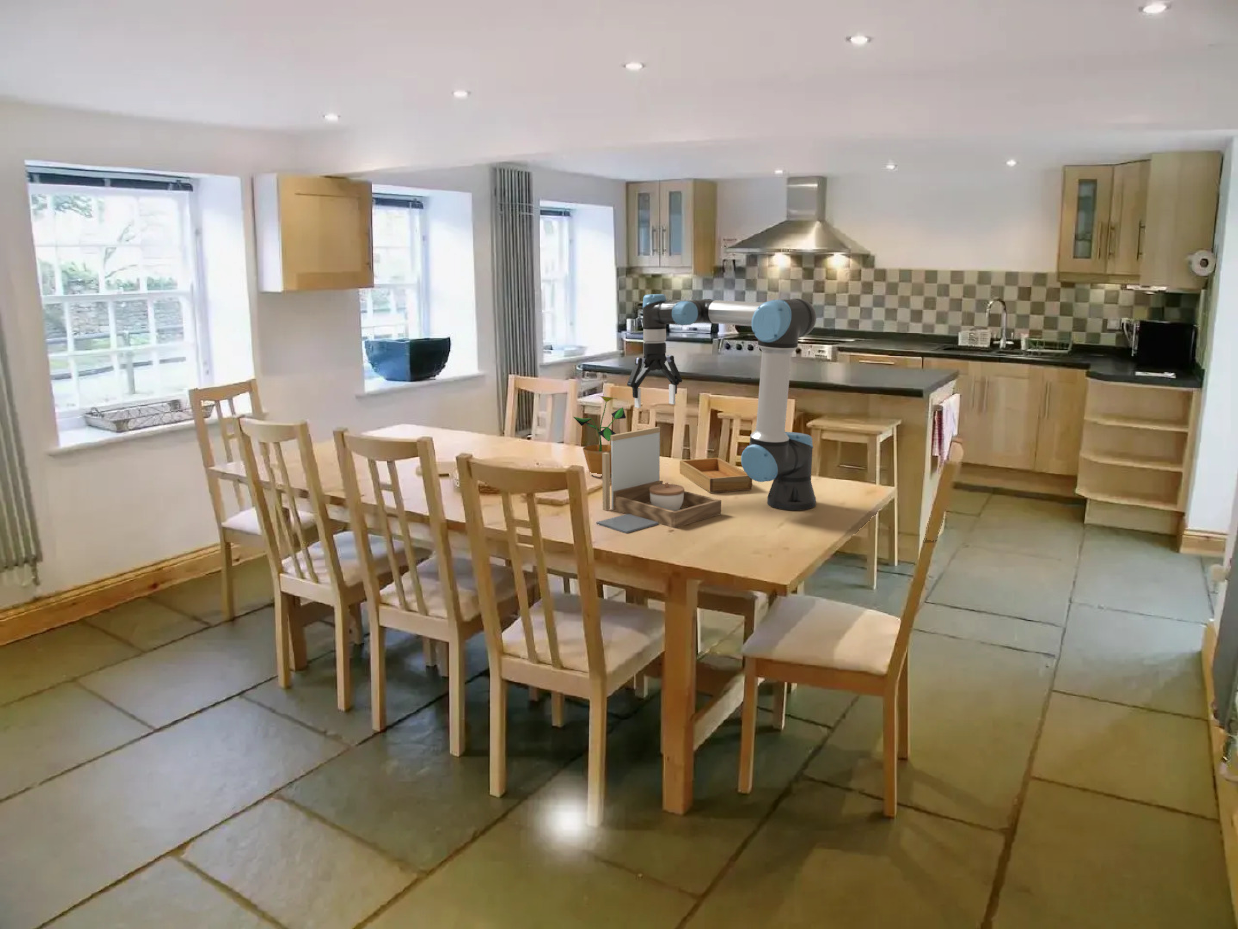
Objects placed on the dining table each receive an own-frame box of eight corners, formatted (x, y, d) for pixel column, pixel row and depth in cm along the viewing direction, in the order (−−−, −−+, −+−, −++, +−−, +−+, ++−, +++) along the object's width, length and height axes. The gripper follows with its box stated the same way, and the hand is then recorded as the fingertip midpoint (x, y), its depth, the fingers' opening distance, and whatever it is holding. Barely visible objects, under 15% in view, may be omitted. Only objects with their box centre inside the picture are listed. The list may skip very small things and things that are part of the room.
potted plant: (632, 479, 328) (631, 395, 322) (580, 482, 324) (578, 397, 317) (620, 468, 345) (619, 388, 339) (570, 471, 341) (569, 390, 334)
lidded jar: (644, 509, 289) (644, 480, 287) (675, 506, 293) (675, 477, 291) (657, 518, 279) (657, 488, 277) (689, 515, 283) (690, 485, 281)
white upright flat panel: (660, 498, 302) (660, 427, 297) (609, 511, 288) (608, 436, 282) (653, 496, 304) (653, 426, 299) (602, 509, 290) (601, 435, 284)
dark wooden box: (720, 514, 283) (721, 495, 282) (674, 527, 270) (674, 508, 269) (659, 498, 302) (659, 480, 301) (613, 510, 289) (613, 491, 288)
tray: (679, 474, 337) (679, 459, 335) (718, 471, 340) (718, 456, 339) (709, 495, 308) (709, 478, 306) (752, 491, 312) (752, 475, 310)
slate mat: (658, 524, 274) (658, 522, 273) (626, 533, 265) (626, 531, 265) (628, 515, 283) (628, 513, 283) (596, 524, 274) (596, 522, 274)
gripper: (679, 339, 314) (679, 401, 319) (616, 343, 302) (617, 407, 307) (692, 340, 308) (692, 403, 313) (627, 344, 296) (628, 410, 300)
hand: (655, 405), depth 310 cm, fingers open, 13 cm apart
